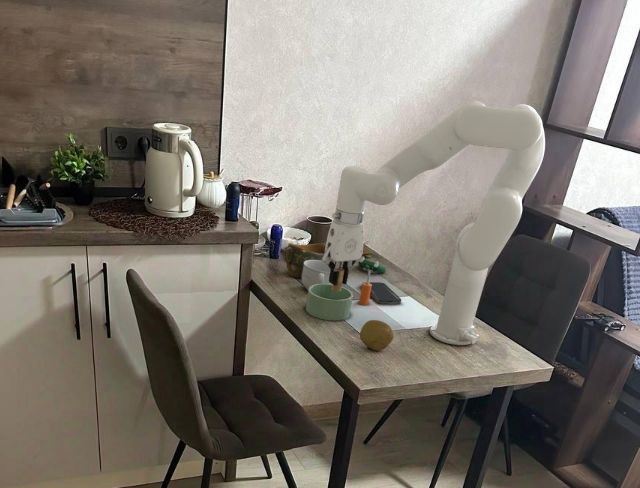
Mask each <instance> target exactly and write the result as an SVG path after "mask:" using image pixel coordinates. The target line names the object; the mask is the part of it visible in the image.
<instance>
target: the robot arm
mask: <svg viewBox="0 0 640 488" xmlns="http://www.w3.org/2000/svg"><path fill="white" fill-rule="evenodd" d="M545 136H546V135H545V130H544V126H543V120H542V118H541V116H540V115H539V113H538V112H537V111H536V109H535V108H534V107H532V106H530V105H528V104H525V103H524V104H517V105H514V106H512V107H511V108H504V107H495V106H487V105H486V104H484V102H481V101H480V100H470V101H469V100H468V101H467V102H464V103H463V104H462V105H461V106H459V107H458V108H456V109H455V110H454V111H453V112H451V113H450V114H449V115H447V116H446V117H445V118H444V119H443V120H440V122H438V123H437V124H436V125H435V126H433V127H432V128H430V129H429V130H428V131H427V132H426V133H424V134H423V135H422V136H420V137H419V138H417V139H416V140H414V141H413V142H412V143H411V144H410V145H408V146H407V147H406V148H404V149H402V150H401V151H400V152H398V153H397V154H396V155H394V156H393V157H391V158H390V159H389V160H388V161H387V162H386V163H384V164H383V165H381V166H380V167H379V168H378V169H377V170H375V172H374V173H371V172H370V171H369V170H368V169H367V168H365V167H361V166H356V165H355V166H354V165H350V166H349V165H347V166H345V167H344V168H342V171H341V175H340V180H339V187H338V192H337V193H338V194H337V198H336V199H337V200H336V206H335V212H333V213H332V215H331V217H332V219H333V220H332V221H331V224H330V226H329V228H328V229H329V230H328V234H327V237H326V240H325V241H326V242H325V243H326V246H325V255H324V256H323V258H322V261H323V262H324V263H326V264H327V265H328V266H329V268H330V269H331V270H330V276H329V282H330V283H331V284H333V285H337V283H338V277H339V271H338V268H339V265H340V262H342V266H341V267H342V269H344V276H343V281H342V285H347V283H348V278H349V274H350V273H349V272H350V271H351V270H352V268H353V266H354V265H355V263H357V262H359V260H360V259H361V258H362V257H363V255H362V252H363V248H364V246H365V244H364V243H365V222H364V221H363V220H364V214H365V209H366V202H370V203H372V204H376V205H378V206H386V205H389V204H391V203H392V202H394V201H395V199H396V198H397V194H398V192H399V190H400V189H401V188H402V187H403V186H405V185H406V184H408V183H409V182H410V181H412V180H413V179H414V178H416V177H418V176H419V175H421V174H422V173H425V172H427V171H431V170H435V169H437V168H439V167H441V166H442V165H444V164H445V163H446V162H448V161H449V160H451V159H452V158H453V157H455V156H456V155H457V154H459V153H460V152H461V151H463V149H465V148H466V147H468V146H469V145H472V146H478V147H483V148H484V147H487V148H493V149H494V148H496V149H505V150H507V154H506V156H505V159H504V160H503V163H502V164H501V166H500V168H499V170H498V171H497V173H496V176H495V177H494V178H493V180H492V182H491V183H490V185H489V187H488V188H487V190H486V192H485V193H484V194H483V197H482V198H481V200H480V201H481V202H480V212H479V214H478V216H476V219H475V221H473V222H470V223H469V224H467V225H465V226H464V227H463V228H462V230H461V231H460V233H459V235H458V237H457V240H456V245H455V250H454V255H453V258H452V259H453V260H452V264H451V268H450V271H449V277H448V279H447V283H446V287H445V291H444V295H443V300H442V304H441V307H440V312H439V315H438V319H437V323H435V324H433V325H432V326H431V327H429V328H430V329H429V334H430V335H431V336H432V338H434V339H436V340H437V341H440V342H442V343H445V344H448V345H453V346H467V345H471V344H472V345H475V344H476V343H477V341H478V340H479V339H480V337H481V336H480V335H479V334H477V333H475V329H476V327H475V326H474V325H473V324H474V321H475V318H476V314H477V310H478V307H479V303H480V299H481V297H482V292H483V290H484V286H485V283H486V280H487V276H488V271H489V268H490V266H492V265H493V264H494V263H495V262H496V260H497V259H498V257H499V256H500V254H501V252H502V251H503V249H504V248H505V246H506V244H507V243H508V242H509V240H510V238H511V236H512V235H513V233H514V232H515V230H516V228H517V227H518V224H519V222H520V220H521V218H522V213H523V204H522V200H523V199H524V197H525V195H526V193H527V191H528V190H529V188H530V186H531V184H532V183H533V180H534V179H535V177H536V175H537V173H538V171H539V170H540V167H541V165H542V162H543V159H544V155H545V149H546V137H545ZM363 245H364V246H363ZM330 257H331V259H330ZM329 259H330V260H329Z"/></svg>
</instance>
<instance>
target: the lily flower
mask: <svg viewBox="0 0 640 488" xmlns="http://www.w3.org/2000/svg"><path fill="white" fill-rule="evenodd" d="M368 243H369V242H368V240H367V241H366V242H364V245H363V252H362V256H363V257H367V258H372V255H375V256H377V254H376V253H375V250H372V249H368Z"/></svg>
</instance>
